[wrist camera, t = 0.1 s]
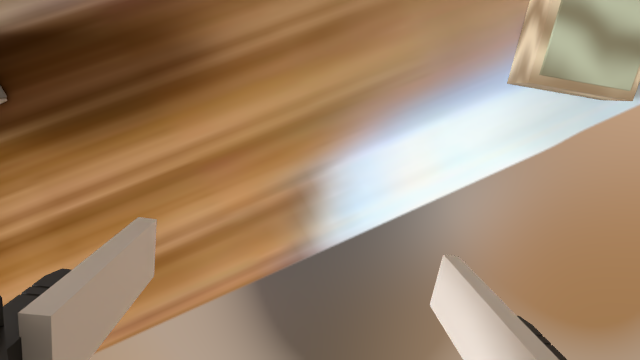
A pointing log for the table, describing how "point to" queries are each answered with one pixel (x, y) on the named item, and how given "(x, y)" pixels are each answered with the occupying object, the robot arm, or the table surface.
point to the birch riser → (580, 48)
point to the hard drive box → (2, 96)
